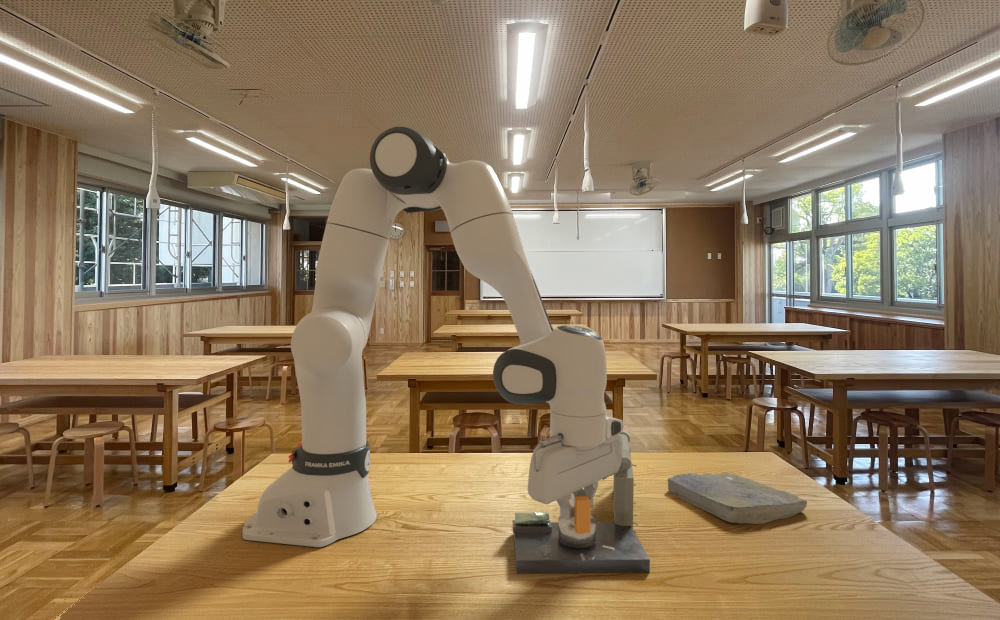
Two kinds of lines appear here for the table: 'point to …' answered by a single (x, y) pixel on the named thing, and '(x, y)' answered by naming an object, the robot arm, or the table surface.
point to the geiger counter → (624, 486)
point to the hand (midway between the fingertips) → (576, 512)
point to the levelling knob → (578, 523)
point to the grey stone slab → (735, 497)
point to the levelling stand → (549, 555)
